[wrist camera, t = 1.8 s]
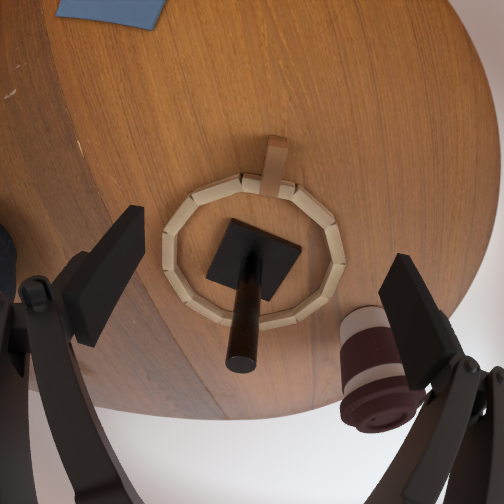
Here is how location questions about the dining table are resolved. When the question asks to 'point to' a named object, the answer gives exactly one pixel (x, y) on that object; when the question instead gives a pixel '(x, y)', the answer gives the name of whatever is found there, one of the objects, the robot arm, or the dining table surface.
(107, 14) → the mat
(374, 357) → the coffee cup
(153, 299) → the dining table surface
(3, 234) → the bowl
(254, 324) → the post on square base
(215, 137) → the dining table surface
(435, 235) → the dining table surface
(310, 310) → the segmented ring with tab
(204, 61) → the dining table surface
